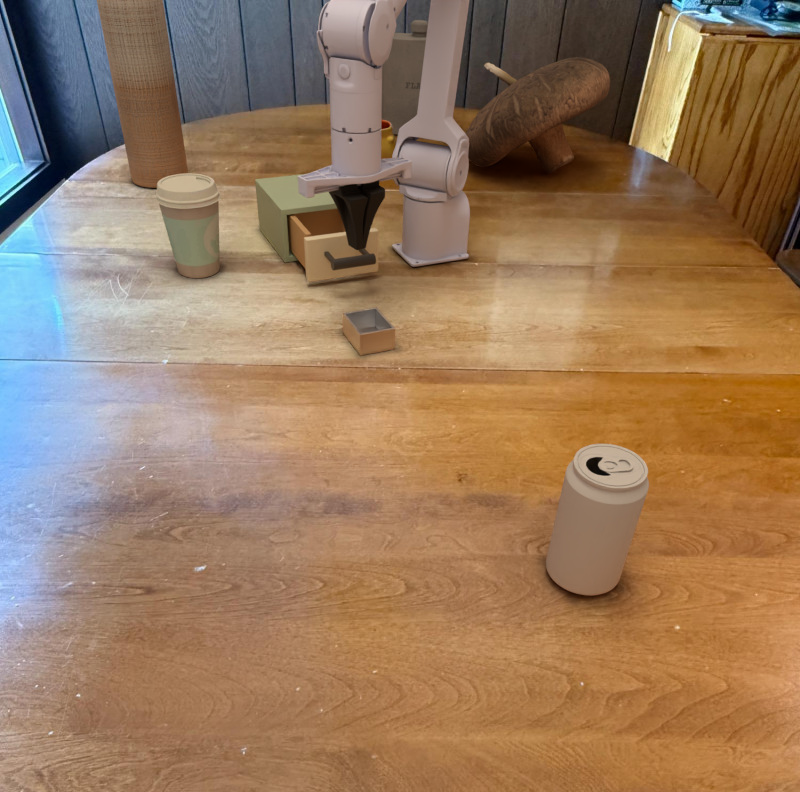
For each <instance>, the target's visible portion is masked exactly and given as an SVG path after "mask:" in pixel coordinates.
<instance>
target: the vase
mask: <svg viewBox="0 0 800 792" xmlns="http://www.w3.org/2000/svg"><path fill="white" fill-rule="evenodd" d="M96 4H97V9H98V14H99V19H100V24H101V30H102V36H103V41H104V45H105V50H106V56H107V61H108V65H109V66H108V67H109V70H110V76H111V81H112V86H113V91H114V95H115V101H116V106H117V112H118V116H119V121H120V127H121V132H122V136H123V142H124V143H123V144H124V147H125V152H126V157H127V163H128V168H129V173H130V177H131V181H132V183H133V184H134V185H136V186H139V187H142V188H148V189H157V183H158V181H159V180H161V179H162V178H164V177H167V176H171V175H176V174H185V173H189V168H188V162H187V153H186V149H185V142H184V141H185V140H184V135H183V134H184V133H183V128H182V121H181V114H180V113H181V112H180V108H179V101H178V93H177V88H176V80H175V74H174V67H173V59H172V53H171V46H170V40H169V33H168V25H167V20H166V12H165V6H164V1H163V0H96Z"/></svg>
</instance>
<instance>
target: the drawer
mask: <svg viewBox="0 0 800 792" xmlns="http://www.w3.org/2000/svg"><path fill="white" fill-rule="evenodd" d="M287 227H288V241H289V249H290V250H291V251H292V253H293V254H294V255H295V256H296V258H297V259H298V260H299V261H298V262H299V263H300V264H301V265H302V266H303V268H304V269H305V279H306V280H307V282H308V283H311V282H319V281H324V280H325V281H326V280H331V279H336V278H344V277H349V276H350V277H351V276H356V275H357V276H358V275H363V274H370V273H376V272H379V242H380V241H379V239H380V238H379V237H380V236H379V233H380V232H379V230H378V229H377V227H371V229H370V232H369V236H368V240H367V244H366V248H364V249H360V250H355V249H354V248H352V247H351V246H349V245H348V240H347V236H346V232H345V228H344V225H343V222H342V219H341V216H340V213H339V211H338V209H330V210H322V211H314V212H306V213H298V214H290V215H287Z"/></svg>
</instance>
